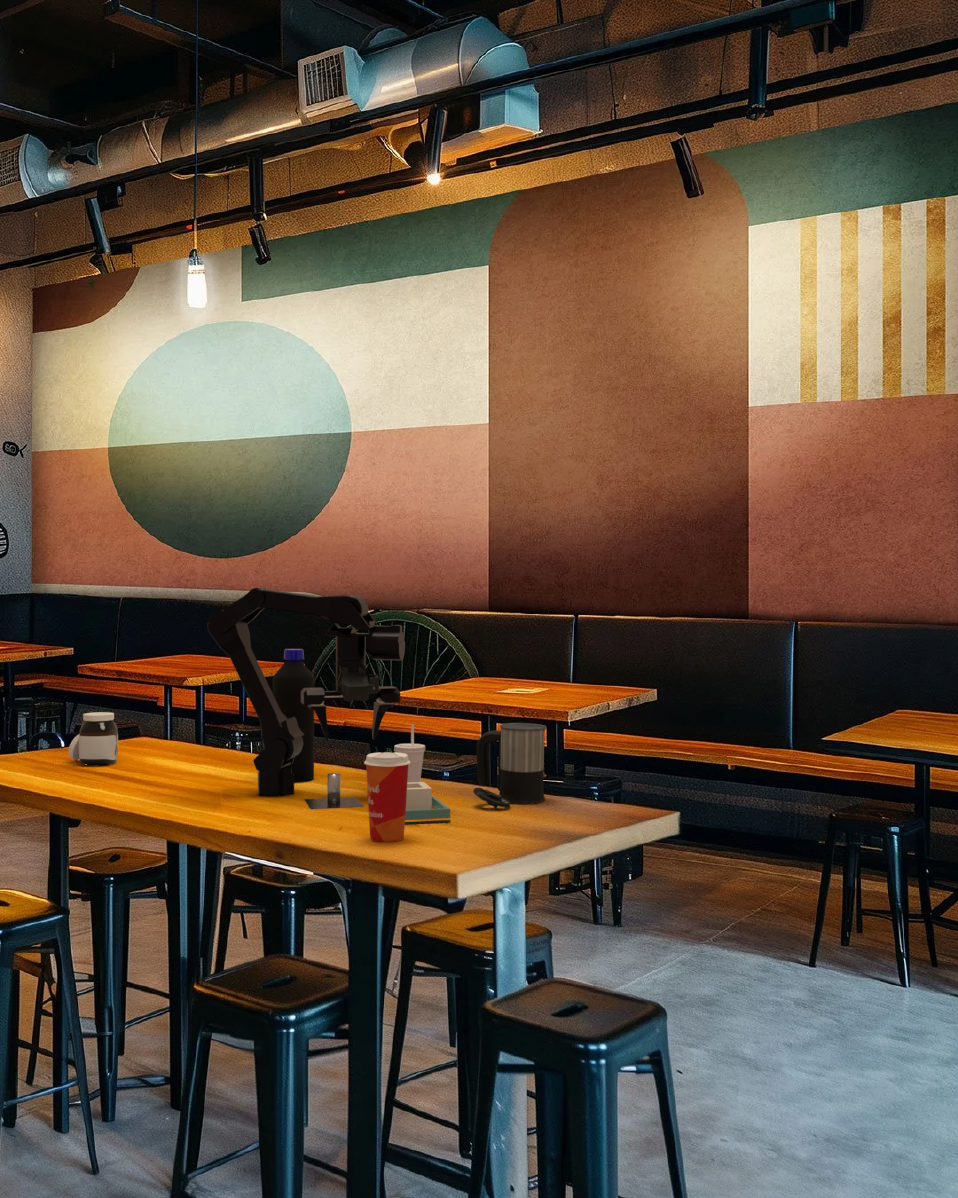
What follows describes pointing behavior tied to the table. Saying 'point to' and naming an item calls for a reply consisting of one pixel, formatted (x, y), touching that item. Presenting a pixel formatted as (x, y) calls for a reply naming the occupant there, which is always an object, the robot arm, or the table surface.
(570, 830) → the table surface
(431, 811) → the tray
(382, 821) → the paper cup
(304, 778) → the bottle
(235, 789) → the table surface
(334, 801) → the metal post stand
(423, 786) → the collar
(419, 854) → the table surface
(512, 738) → the milk frother
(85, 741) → the spread jar
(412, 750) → the smoothie
